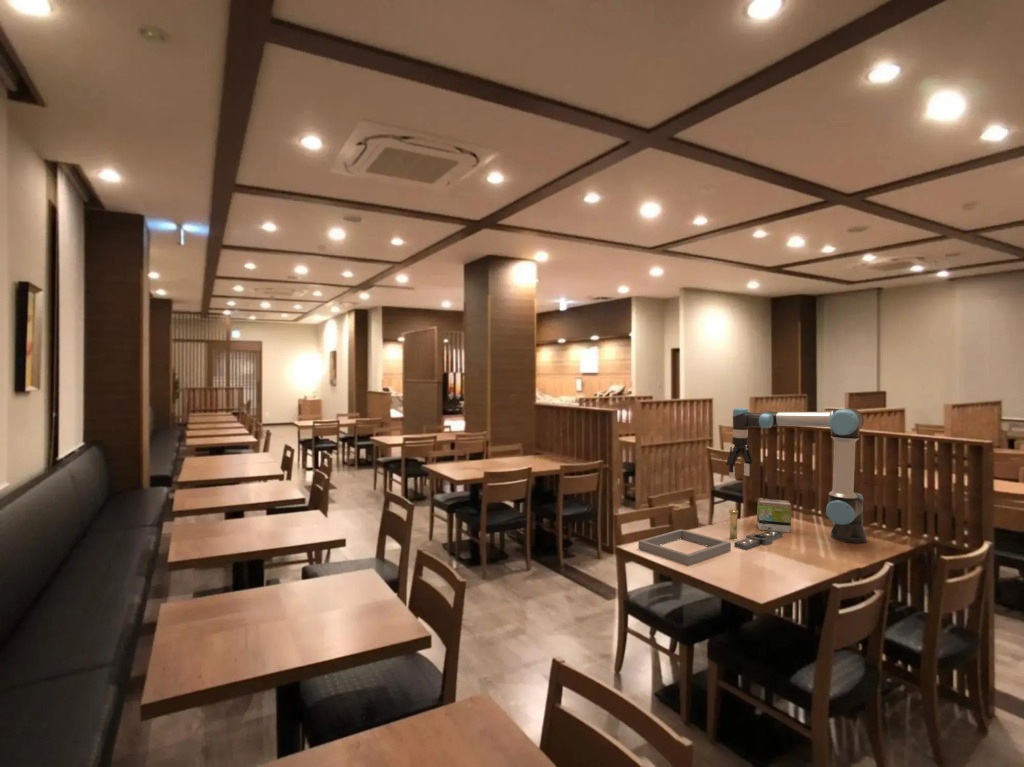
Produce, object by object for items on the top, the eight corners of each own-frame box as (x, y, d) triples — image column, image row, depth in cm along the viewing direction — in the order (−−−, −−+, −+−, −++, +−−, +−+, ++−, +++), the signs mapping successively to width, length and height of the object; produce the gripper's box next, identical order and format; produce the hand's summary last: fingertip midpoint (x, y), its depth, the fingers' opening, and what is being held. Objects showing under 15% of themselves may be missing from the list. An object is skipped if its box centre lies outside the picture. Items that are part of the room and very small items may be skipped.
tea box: (759, 530, 291) (759, 502, 291) (756, 525, 301) (757, 497, 301) (791, 533, 287) (791, 504, 287) (787, 527, 297) (788, 499, 296)
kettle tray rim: (730, 551, 258) (730, 542, 258) (688, 565, 238) (688, 556, 238) (680, 537, 279) (680, 529, 279) (638, 549, 260) (638, 540, 260)
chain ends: (786, 537, 279) (786, 532, 278) (749, 550, 258) (749, 545, 258) (767, 533, 286) (767, 528, 286) (731, 545, 266) (731, 540, 266)
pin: (739, 539, 276) (740, 510, 276) (734, 540, 273) (735, 512, 273) (731, 537, 279) (732, 509, 279) (727, 538, 277) (727, 510, 276)
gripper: (747, 435, 309) (746, 473, 310) (719, 438, 295) (719, 478, 296) (759, 436, 303) (759, 475, 304) (732, 439, 289) (732, 480, 289)
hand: (739, 477), depth 300 cm, fingers open, 13 cm apart
